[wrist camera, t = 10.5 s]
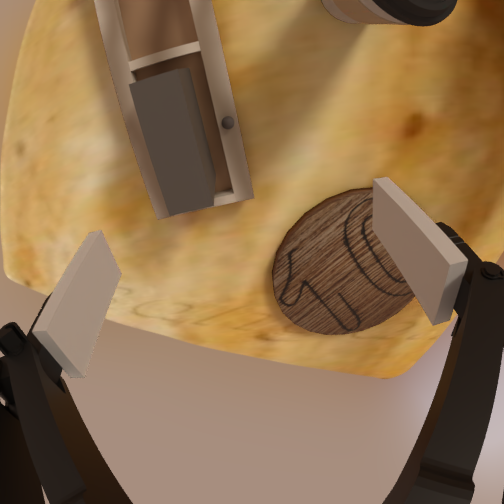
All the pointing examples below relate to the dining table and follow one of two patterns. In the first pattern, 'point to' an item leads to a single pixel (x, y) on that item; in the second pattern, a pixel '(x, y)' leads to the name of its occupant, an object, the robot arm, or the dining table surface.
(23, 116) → the dining table surface
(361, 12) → the coffee cup
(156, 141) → the picture frame
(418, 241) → the robot arm
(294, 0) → the dining table surface
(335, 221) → the trivet
